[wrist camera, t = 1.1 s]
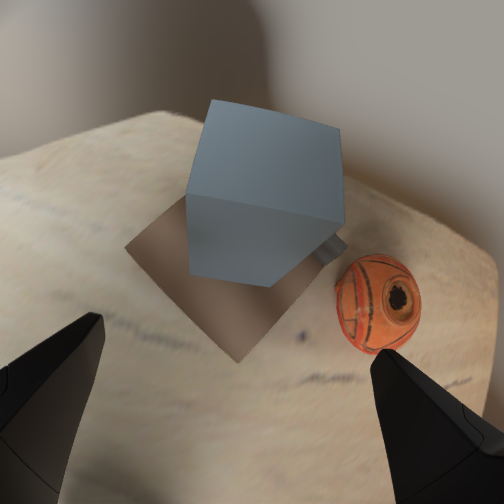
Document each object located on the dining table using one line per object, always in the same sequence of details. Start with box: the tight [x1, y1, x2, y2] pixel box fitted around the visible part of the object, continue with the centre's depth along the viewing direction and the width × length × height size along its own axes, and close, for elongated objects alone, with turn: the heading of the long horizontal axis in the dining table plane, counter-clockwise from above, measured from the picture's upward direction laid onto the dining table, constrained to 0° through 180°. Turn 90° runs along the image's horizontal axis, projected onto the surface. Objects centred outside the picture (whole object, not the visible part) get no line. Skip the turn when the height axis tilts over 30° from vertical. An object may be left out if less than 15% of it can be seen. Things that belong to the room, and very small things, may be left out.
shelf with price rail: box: [124, 195, 347, 363], centre depth 21 cm, size 11×12×4 cm
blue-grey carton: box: [185, 100, 345, 287], centre depth 17 cm, size 5×6×12 cm
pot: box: [335, 254, 421, 355], centre depth 21 cm, size 8×8×7 cm
